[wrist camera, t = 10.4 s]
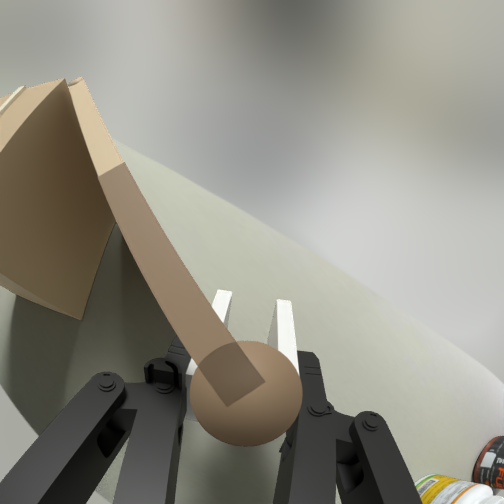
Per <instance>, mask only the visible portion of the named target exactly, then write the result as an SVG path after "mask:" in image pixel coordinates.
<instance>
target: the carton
mask: <svg viewBox="0 0 504 504" xmlns="http://www.w3.org/2000/svg"><path fill="white" fill-rule="evenodd" d="M115 222H116V219H115V217H114V215H113V213H112V210H111V208H110V206H109V203H108V201H107V199H106V196H105V194H104V192H103V189H102V187H101V184H100V182H99V179H98V174H97V171H96V169H95V166H94V164H93V161H92V158H91V156H90V153H89V150H88V147H87V144H86V142H85V139H84V136H83V133H82V130H81V127H80V124H79V120H78V117H77V114H76V111H75V107H74V104H73V100H72V97H71V94H70V91H69V88H68V86H67V83H66V80H65V79H60V80H56V81H52V82H48V83H44V84H41V85H37V86H33V87H30V88H27V89H26V87H25V86H22V87H19V88H18V89H17V90H16V91H15V92H14V93H12V94H9V95H6V96H3V97H1V98H0V285H1V286H3V287H4V288H6V289H8V290H9V291H11V292H13V293H14V294H16V295H18V296H21V297H23V298H25V299H27V300H30V301H32V302H34V303H37V304H39V305H42V306H44V307H47V308H49V309H52V310H54V311H57V312H60V313H62V314H65V315H68V316H70V317H73V318H76V319H79V320H82V318H83V314H84V311H85V307H86V304H87V300H88V297H89V294H90V290H91V287H92V284H93V281H94V278H95V275H96V272H97V269H98V266H99V263H100V260H101V258H102V255H103V252H104V250H105V247H106V244H107V242H108V239H109V237H110V234H111V232H112V229H113V227H114V224H115Z"/></svg>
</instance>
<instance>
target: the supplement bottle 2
mask: <svg viewBox="0 0 504 504" xmlns="http://www.w3.org/2000/svg"><path fill="white" fill-rule="evenodd" d="M474 480H475V482H476V483H478V484H483V485H487V486H489V487H492V488H498V489H504V436H497V437H495V438H493V439H492V440H491V441H490V442H489V443H488V444H487V445H486V446H485V448H484V449H483V451H482V452H481V454H480V456H479V458H478V460H477V463H476V466H475V470H474Z"/></svg>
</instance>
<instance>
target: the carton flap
mask: <svg viewBox="0 0 504 504" xmlns="http://www.w3.org/2000/svg"><path fill="white" fill-rule="evenodd" d="M68 86H69V90H70V93H71V97H72V100H73V104H74V107H75V111H76V114H77V117H78V120H79V124H80V127H81V130H82V133H83V136H84V139H85V142H86V144H87V147H88V150H89V153H90V156H91V158H92V161H93V164H94V166H95V169H96V171H97V174H98V179H99V182H100V184H101V187H102V189H103V192H104V194H105V196H106V199H107V201H108V203H109V206H110V208H111V210H112V213H113V215H114V217H115V219H116V222H117V224H118V226H119V228H120V230H121V232H122V234H123V237H124V239H125V241H126V243H127V245H128V247H129V249H130V251H131V253H132V255H133V257H134V259H135V261H136V263H137V265H138V267H139V269H140V271H141V273H142V274H143V276H144V278H145V280H146V282H147V284H148V286H149V287H150V289H151V291H152V293H153V295H154V296H155V298H156V300H157V302H158V304H159V305H160V307H161V309H162V310H163V312H164V314H165V316H166V317H167V319H168V321H169V322H170V324H171V326H172V327H173V329H174V331H175V332H176V334H177V335H178V337H179V339H180V340H181V342H182V343H183V345H184V346H185V348H186V350H187V351H188V353H189V354H190V356H191V357H192V359H193V360H194V362H195V363H196V365H197V366H198V367H197V368H196V370H195V372H194V374H193V377H192V380H191V384H190V403H191V407H192V410H193V413H194V415H195V417H196V419H197V420H198V422H199V423H200V425H201V426H202V427H203V428H204V429H205V430H206V431H207V432H208V433H209V434H210V435H212V436H213V437H215V438H216V439H218V440H220V441H222V442H225V443H228V444H231V445H236V446H257V445H261V444H265V443H268V442H270V441H272V440H274V439H276V438H278V437H279V436H281V435H282V434H283V433H284V432H286V431H287V430H288V429H289V428H290V426H291V425H292V424H293V422H294V421H295V419H296V417H297V416H298V413H299V411H300V408H301V404H302V396H303V393H302V384H301V380H300V377H299V374H298V372H297V370H296V368H295V367H294V365H293V364H292V362H291V361H290V360H289V359H288V358H287V357H286V356H285V355H284V354H283V353H281V352H280V351H278V350H277V349H275V348H273V347H271V346H269V345H266V344H264V343H260V342H255V341H237V342H236V341H235V339H234V338H233V337H232V335H231V334H230V332H229V331H228V329H227V328H226V327H225V325H224V324H223V322H222V321H221V319H220V318H219V316H218V315H217V314H216V312H215V311H214V309H213V308H212V306H211V305H210V303H209V302H208V300H207V299H206V297H205V296H204V294H203V293H202V291H201V290H200V288H199V287H198V285H197V284H196V282H195V281H194V279H193V277H192V276H191V274H190V273H189V271H188V270H187V268H186V267H185V265H184V263H183V262H182V260H181V259H180V257H179V255H178V254H177V252H176V251H175V249H174V247H173V246H172V244H171V242H170V241H169V239H168V238H167V236H166V234H165V233H164V231H163V229H162V228H161V226H160V224H159V222H158V221H157V219H156V217H155V216H154V214H153V212H152V211H151V209H150V207H149V205H148V204H147V202H146V200H145V198H144V197H143V195H142V193H141V191H140V189H139V188H138V186H137V184H136V182H135V180H134V179H133V177H132V175H131V173H130V171H129V169H128V168H127V166H126V164H125V162H123V160H122V158H121V156H120V154H119V152H118V151H117V149H116V147H115V145H114V143H113V141H112V139H111V137H110V135H109V133H108V131H107V129H106V127H105V125H104V122H103V120H102V118H101V116H100V114H99V112H98V110H97V108H96V106H95V104H94V101H93V99H92V97H91V95H90V93H89V90H88V88H87V86H86V84H85V81H84V79H83V77H79V78H76V79H74V80H73V81H71V82H70V83H69V85H68Z"/></svg>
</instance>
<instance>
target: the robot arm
mask: <svg viewBox="0 0 504 504" xmlns="http://www.w3.org/2000/svg"><path fill="white" fill-rule="evenodd" d="M231 298H232V292H230V291H224V290H219V289H218V291H217V294H216V296H215V299H214V301H213V304H212V308H213V309H214V311H215V312H216V314H217V315H218V316H219V318H220V319H221V321H222V322H223V324H224V325H225V327H226V328H227V327H228V320H229V312H230V305H231ZM268 345H269V346H271V347H273V348H275V349H277V350H278V351H280V352H281V353H283V354H284V355H285V356H286V357H287V358H288V359H289V360H290V361H291V362H292V364H293V365H294V367H295V368H296V370H297V372H298V374H299V377H300V380H301V384H302V393H303V396H302V404H301V408H300V411H299V413H298V416H297V417H296V419H295V421H294V422H293V424H292V425H291V426H290V428H289V429H288V430H287V431H286V438H285V440H284V442H283V444H282V446H281V448H280V450H279V452H280V453H281V452H282V453H281V459H280V465H279V471H278V477H277V483H276V488H275V494H274V499H273V504H335V496H336V484H337V488H338V492H339V495H340V499H341V503H342V504H423V503H422V501H421V498H420V496H419V493H418V491H417V489H416V486H415V484H414V482H413V480H412V477H411V475H410V473H409V471H408V468H407V466H406V464H405V462H404V460H403V457H402V455H401V453H400V451H399V449H398V447H397V444H396V442H395V440H394V438H393V436H392V434H391V432H390V430H389V428H388V426H387V423H386V421H385V420H384V419H383V417H382V416H380V415H379V414H377V413H375V412H372V411H364V412H361V413H359V414H358V415H357V416H356V417H352V416H348V415H344V414H341V413H339V412H337V411H335V410H334V407H333V406H332V405H331V403H330V402H328V401H327V399H326V394H325V388H324V383H323V378H322V373H321V369H320V363H319V359H318V358H317V357H316V355H315V354H314V353H313V352H305V351H297V349H296V340H295V331H294V323H293V315H292V307H291V301H286V300H279V299H277V301H276V305H275V310H274V314H273V319H272V323H271V328H270V332H269V336H268ZM197 367H198V366H197V365H196V363H195V362H194V360H193V359H192V357H191V356H190V354H189V353H188V351H187V350H186V348H185V346H184V345H183V343H182V342H181V340H180V339H179V337H178V336H176V337H175V338H174V340H173V342H172V344H171V347H170V348H169V350H168V353H167V354H166V356H165V358H156V359H152V360H151V361H149V362H147V363H146V365H145V366H144V372H145V380H146V382H143V383H125V382H124V381H123V379H122V378H121V377H120V376H119V375H117V374H116V373H112V372H101V373H98V374H96V375H95V376H93V377H92V378H91V379H90V380H89V382H88V383H87V384H86V385H85V386H84V387H83V388H82V389H81V390H80V391H79V392H78V394H77V395H76V396H75V397H74V398H73V399H72V400H71V401H70V402H69V403H68V405H67V406H66V407H65V408H64V409H63V410H62V411H61V412H60V413H59V415H58V416H57V417H56V418H55V419H54V420H53V421H52V422H51V423H50V425H49V426H48V427H47V428H46V429H45V430H44V431H43V433H42V434H41V435H40V436H39V437H38V439H36V441H35V442H34V443H33V444H32V446H30V448H29V449H28V450H27V451H26V452H25V454H24V455H23V456H22V457H21V458H20V459H19V461H18V462H17V463H16V464H15V465H14V467H13V468H12V469H11V470H10V471H9V473H8V474H7V475H6V476H5V477H4V479H3V480H2V481H1V483H0V504H86V502H87V501H88V499H89V498H90V496H91V495H92V493H93V492H94V490H95V488H96V487H97V485H98V484H99V482H100V481H101V479H102V478H103V476H104V474H105V473H106V471H107V470H108V468H109V467H110V465H111V463H112V462H113V460H114V459H115V457H116V456H117V454H118V453H119V451H120V449H121V448H122V446H123V445H124V443H125V442H126V440H127V439H128V437H129V435H130V437H129V441H128V445H127V448H126V452H125V456H124V459H123V463H122V467H121V471H120V475H119V479H118V483H117V488H116V492H115V496H114V501H113V504H174V502H175V492H176V483H177V474H178V466H179V457H180V449H181V442H182V434H183V421H184V418H185V414H186V419H188V420H193V421H197V422H198V420H197V419H196V417H195V415H194V413H193V410H192V407H191V403H190V384H191V380H192V377H193V374H194V372H195V370H196V368H197Z"/></svg>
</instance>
